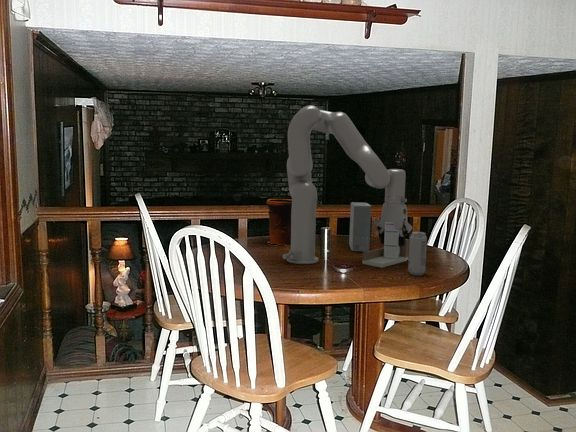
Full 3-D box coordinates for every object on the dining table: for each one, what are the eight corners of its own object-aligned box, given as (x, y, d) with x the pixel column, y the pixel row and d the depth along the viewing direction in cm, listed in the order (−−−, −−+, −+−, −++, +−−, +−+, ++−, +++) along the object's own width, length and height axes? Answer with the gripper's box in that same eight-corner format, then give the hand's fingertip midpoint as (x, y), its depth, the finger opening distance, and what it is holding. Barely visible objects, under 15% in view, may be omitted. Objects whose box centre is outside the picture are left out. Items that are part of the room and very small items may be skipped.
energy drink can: (411, 271, 203) (413, 230, 201) (427, 273, 200) (429, 232, 198) (405, 274, 198) (407, 232, 196) (421, 276, 195) (423, 234, 193)
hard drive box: (369, 252, 236) (371, 206, 234) (351, 251, 237) (353, 205, 234) (365, 245, 252) (367, 202, 249) (348, 245, 252) (350, 201, 249)
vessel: (264, 239, 260) (266, 197, 258) (294, 240, 262) (296, 198, 259) (265, 245, 246) (267, 201, 244) (297, 246, 247) (299, 202, 245)
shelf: (382, 267, 208) (383, 245, 206) (362, 263, 214) (363, 242, 212) (408, 260, 221) (409, 239, 220) (388, 256, 227) (389, 236, 226)
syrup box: (398, 259, 216) (400, 222, 214) (383, 257, 218) (384, 221, 216) (399, 256, 222) (401, 220, 220) (385, 255, 223) (386, 219, 221)
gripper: (419, 202, 214) (416, 246, 216) (381, 198, 225) (379, 240, 228) (409, 203, 208) (406, 249, 210) (370, 199, 220) (368, 242, 222)
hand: (392, 244), depth 219 cm, fingers open, 7 cm apart
